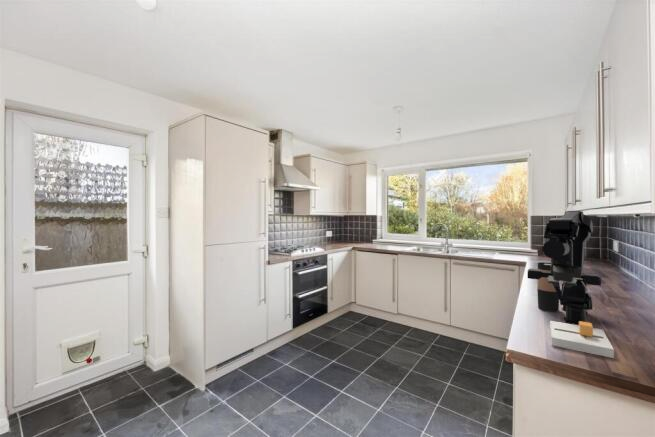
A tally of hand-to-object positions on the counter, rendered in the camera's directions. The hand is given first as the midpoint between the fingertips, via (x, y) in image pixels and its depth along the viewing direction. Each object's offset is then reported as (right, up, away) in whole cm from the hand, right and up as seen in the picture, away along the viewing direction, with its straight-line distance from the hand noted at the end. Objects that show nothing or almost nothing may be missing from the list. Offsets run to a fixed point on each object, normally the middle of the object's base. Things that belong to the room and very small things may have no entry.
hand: (561, 301), depth 96 cm
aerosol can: (+27, -12, +26) cm, 40 cm away
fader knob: (+4, -9, -4) cm, 11 cm away
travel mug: (+18, -12, +29) cm, 36 cm away
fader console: (+3, -12, -3) cm, 13 cm away
